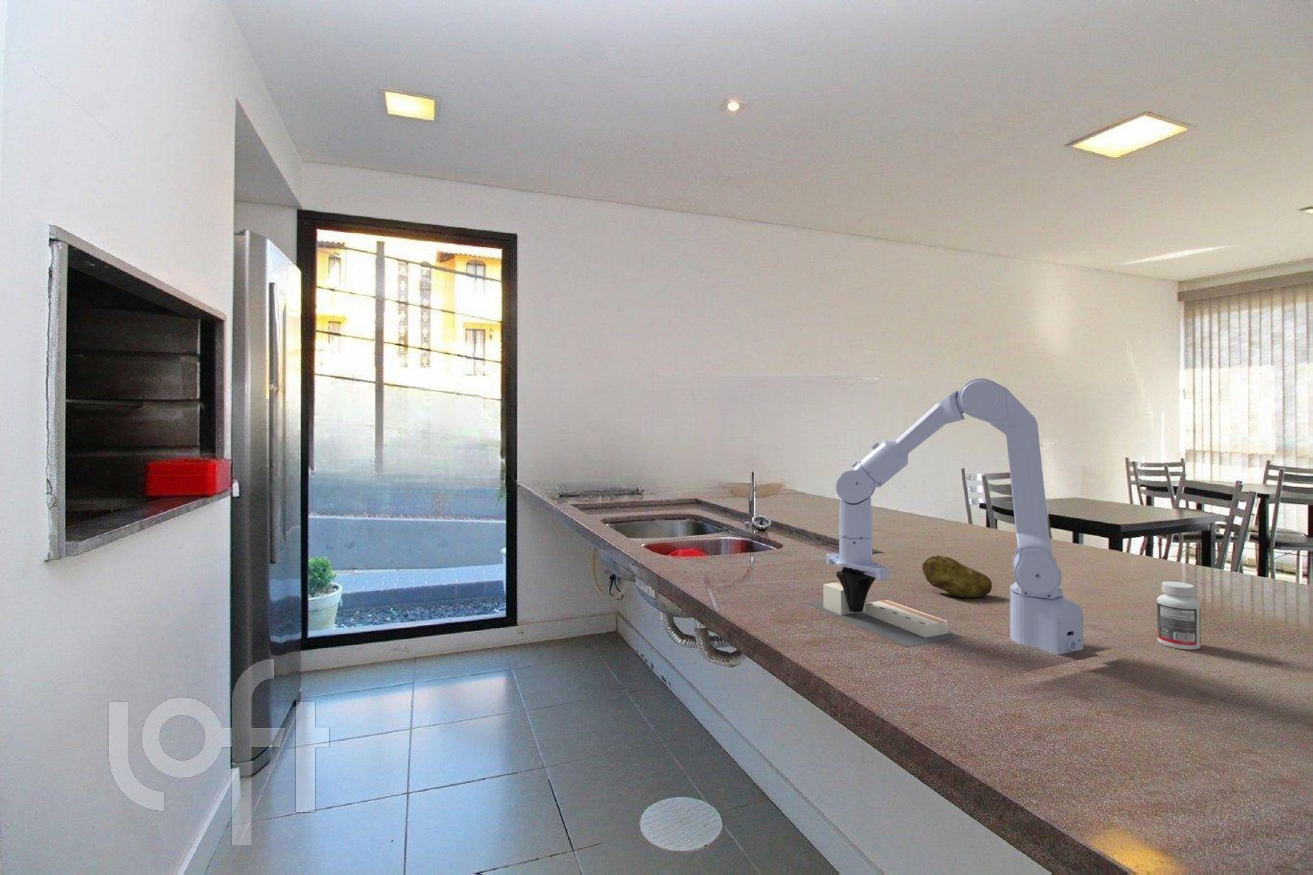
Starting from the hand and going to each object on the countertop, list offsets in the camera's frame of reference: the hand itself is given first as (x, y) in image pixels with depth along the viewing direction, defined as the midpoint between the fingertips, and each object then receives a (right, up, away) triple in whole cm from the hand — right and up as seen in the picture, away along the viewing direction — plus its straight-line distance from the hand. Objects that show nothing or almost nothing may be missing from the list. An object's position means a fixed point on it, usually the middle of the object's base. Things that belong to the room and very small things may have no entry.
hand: (856, 610), depth 111 cm
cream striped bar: (+7, -1, -4) cm, 8 cm away
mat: (+3, -2, -1) cm, 4 cm away
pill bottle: (+48, -2, -13) cm, 49 cm away
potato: (+27, -2, +18) cm, 32 cm away
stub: (-2, -1, +4) cm, 4 cm away
